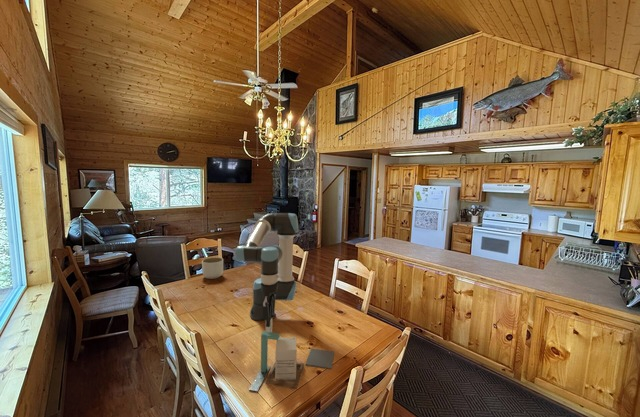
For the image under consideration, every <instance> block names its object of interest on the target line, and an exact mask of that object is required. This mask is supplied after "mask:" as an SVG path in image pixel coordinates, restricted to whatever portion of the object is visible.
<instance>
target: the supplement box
mask: <svg viewBox="0 0 640 417" xmlns="http://www.w3.org/2000/svg"><path fill="white" fill-rule="evenodd" d="M297 345H298V344H297V337H279V339H278V340H276V345H275V360H274V361H275V362H274V363H275V372H274V376H275V377H274V379H278V380H284V381H290V382H295V380H296V377H297V368H296V362H297V355H298V354H297V350H298V349H297Z"/></svg>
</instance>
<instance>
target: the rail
mask: <svg viewBox="0 0 640 417" xmlns="http://www.w3.org/2000/svg"><path fill="white" fill-rule="evenodd" d="M270 370H271V366H269V365H267V370H266V372H261V368H260V370H258V372H257V375H256V376H255V378H254V379H253V382H252V384H251V385H250V387H249V389H248V391H249V392H254V393H258V392H259V390H260V388H261V386H262V385H263V383H264V382H265V381H264V380H266V378H267V376H268V374H269V372H270Z"/></svg>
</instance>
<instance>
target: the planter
mask: <svg viewBox="0 0 640 417" xmlns="http://www.w3.org/2000/svg"><path fill="white" fill-rule="evenodd" d="M201 269H202V270H201V272H202V276H203V277H204V278H205V279H208V280H216V279H219V278H220V277H221V276H222V275H223V272H224V258H223V257H217V256H214V257H206V258H203V259H202V261H201Z"/></svg>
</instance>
